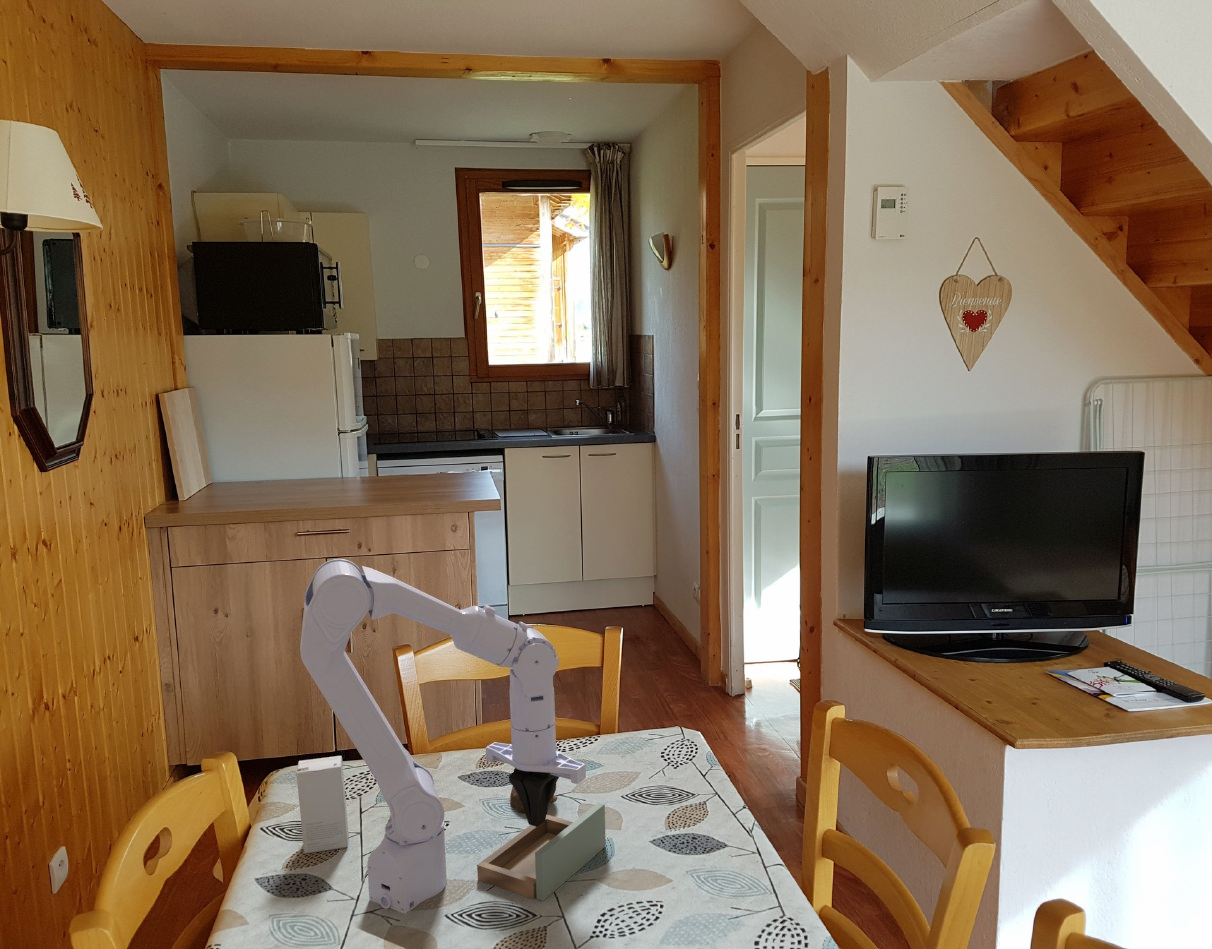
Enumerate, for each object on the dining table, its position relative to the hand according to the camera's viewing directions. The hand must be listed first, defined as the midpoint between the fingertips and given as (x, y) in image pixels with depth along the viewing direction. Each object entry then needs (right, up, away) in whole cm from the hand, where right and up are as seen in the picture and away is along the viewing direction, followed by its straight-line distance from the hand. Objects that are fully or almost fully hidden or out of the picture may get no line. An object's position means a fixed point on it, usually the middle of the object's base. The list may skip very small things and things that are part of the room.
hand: (537, 822), depth 124 cm
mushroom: (-2, -5, +17) cm, 18 cm away
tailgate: (+5, -6, -2) cm, 8 cm away
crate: (0, -7, +1) cm, 7 cm away
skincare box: (-30, -7, +9) cm, 32 cm away
